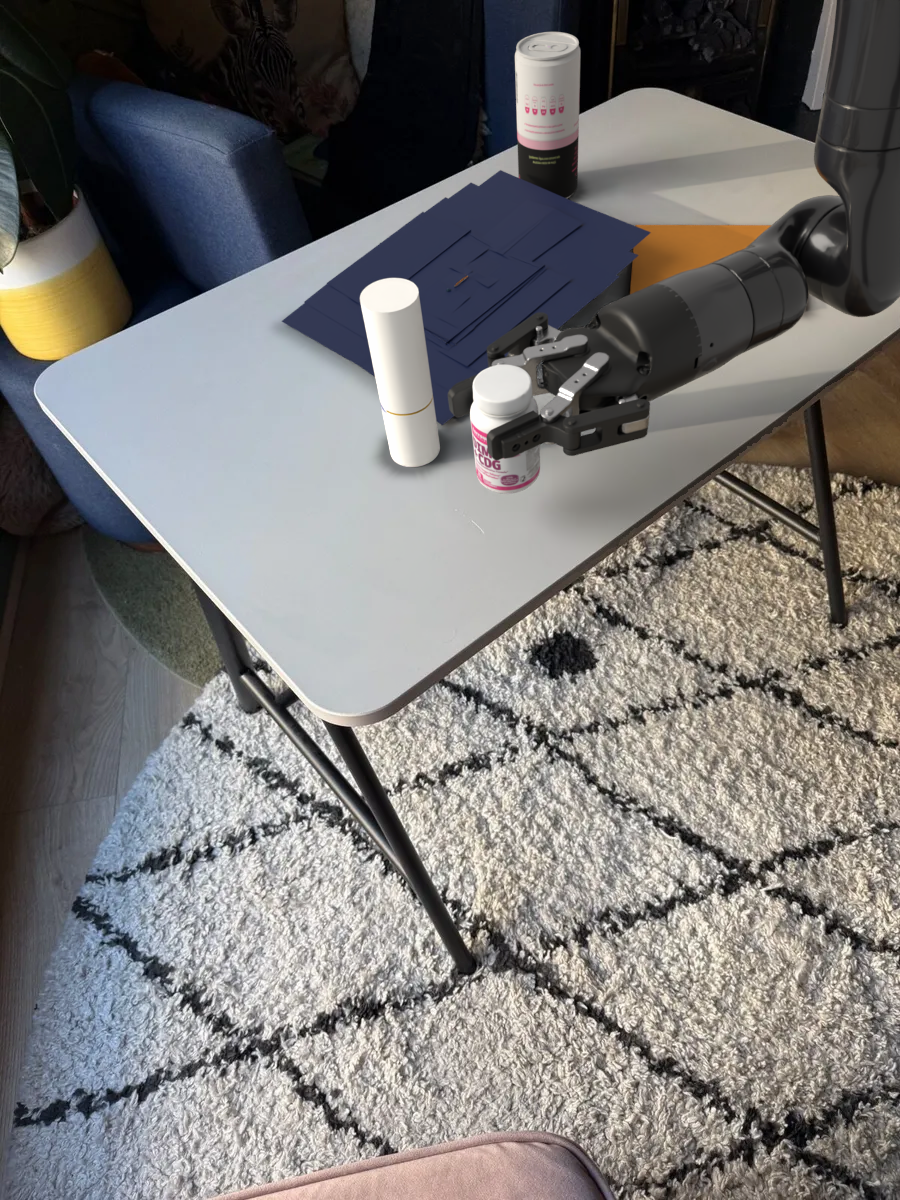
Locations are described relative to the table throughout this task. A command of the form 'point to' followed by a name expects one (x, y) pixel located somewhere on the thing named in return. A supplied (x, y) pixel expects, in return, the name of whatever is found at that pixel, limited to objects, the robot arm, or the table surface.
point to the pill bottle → (496, 403)
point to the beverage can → (548, 110)
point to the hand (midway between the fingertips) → (471, 425)
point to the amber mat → (685, 249)
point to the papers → (477, 275)
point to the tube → (401, 369)
